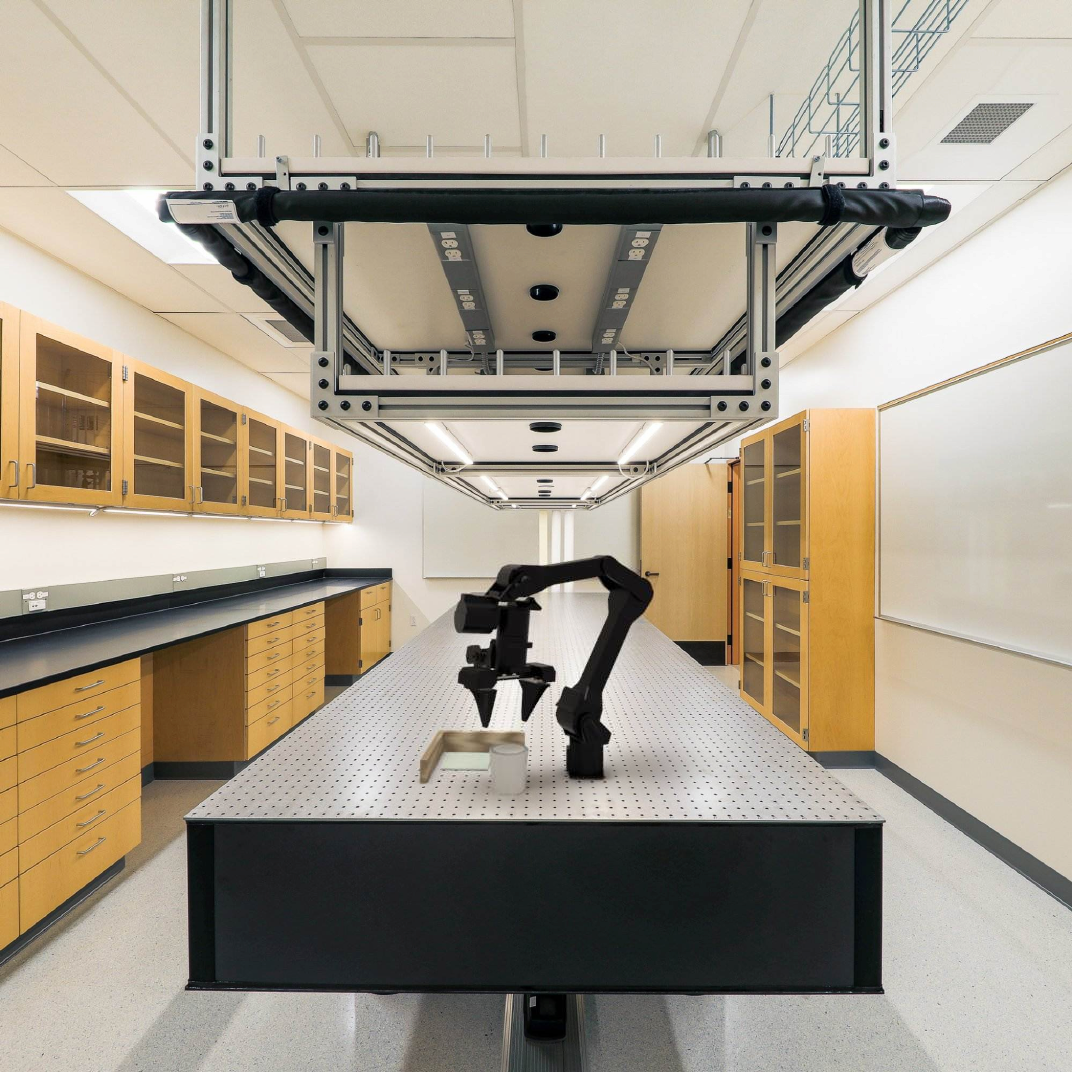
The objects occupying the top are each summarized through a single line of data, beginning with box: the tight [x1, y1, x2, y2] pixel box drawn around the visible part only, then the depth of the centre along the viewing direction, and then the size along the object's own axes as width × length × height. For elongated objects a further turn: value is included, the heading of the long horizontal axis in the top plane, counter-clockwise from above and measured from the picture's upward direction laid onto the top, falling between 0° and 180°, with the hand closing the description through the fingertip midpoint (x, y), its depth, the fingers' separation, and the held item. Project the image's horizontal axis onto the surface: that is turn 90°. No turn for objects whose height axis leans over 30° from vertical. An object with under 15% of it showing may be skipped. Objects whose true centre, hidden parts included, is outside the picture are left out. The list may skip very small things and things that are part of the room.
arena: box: [419, 729, 526, 784], centre depth 115 cm, size 18×18×4 cm
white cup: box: [488, 743, 529, 796], centre depth 104 cm, size 7×7×7 cm
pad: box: [440, 752, 490, 772], centre depth 117 cm, size 9×9×1 cm
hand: (505, 724), depth 104 cm, fingers open, 9 cm apart
